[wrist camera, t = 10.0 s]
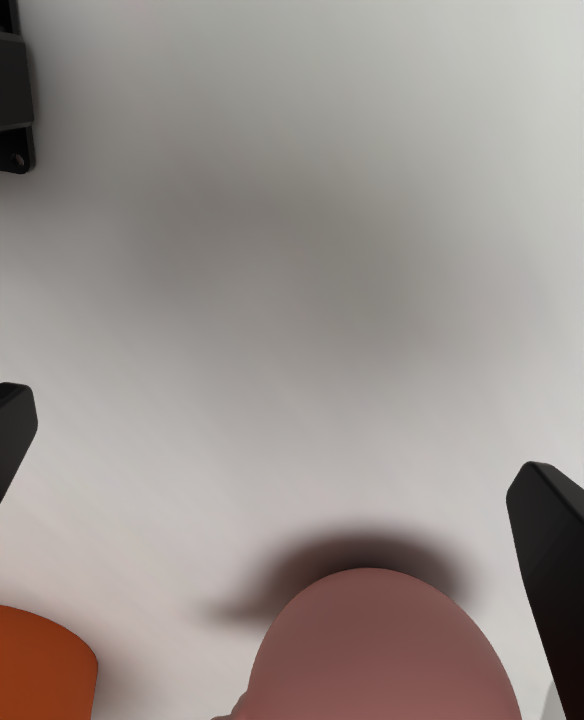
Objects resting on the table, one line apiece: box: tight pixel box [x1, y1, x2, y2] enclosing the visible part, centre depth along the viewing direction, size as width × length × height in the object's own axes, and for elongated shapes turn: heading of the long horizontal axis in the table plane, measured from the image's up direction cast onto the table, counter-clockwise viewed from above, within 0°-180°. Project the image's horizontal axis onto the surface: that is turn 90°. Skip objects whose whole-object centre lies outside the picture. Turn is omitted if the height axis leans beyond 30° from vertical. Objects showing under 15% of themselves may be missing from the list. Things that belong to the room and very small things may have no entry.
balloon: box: [211, 568, 522, 720], centre depth 26 cm, size 15×20×15 cm
